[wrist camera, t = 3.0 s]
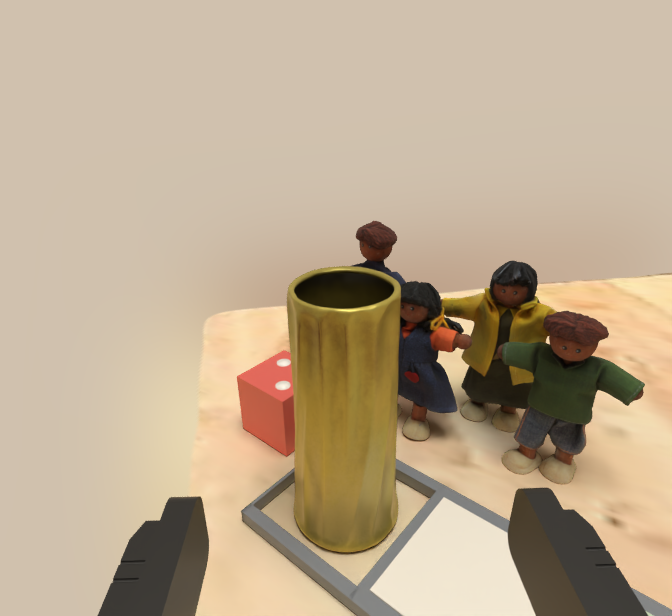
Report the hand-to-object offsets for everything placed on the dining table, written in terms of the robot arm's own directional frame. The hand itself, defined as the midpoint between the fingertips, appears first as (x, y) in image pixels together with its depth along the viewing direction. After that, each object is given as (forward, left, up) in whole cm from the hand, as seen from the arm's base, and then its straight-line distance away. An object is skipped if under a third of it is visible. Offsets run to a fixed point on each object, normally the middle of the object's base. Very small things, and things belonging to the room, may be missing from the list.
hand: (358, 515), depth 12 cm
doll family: (-20, -8, -13) cm, 25 cm away
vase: (-9, -8, -13) cm, 17 cm away
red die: (-12, -16, -13) cm, 23 cm away
